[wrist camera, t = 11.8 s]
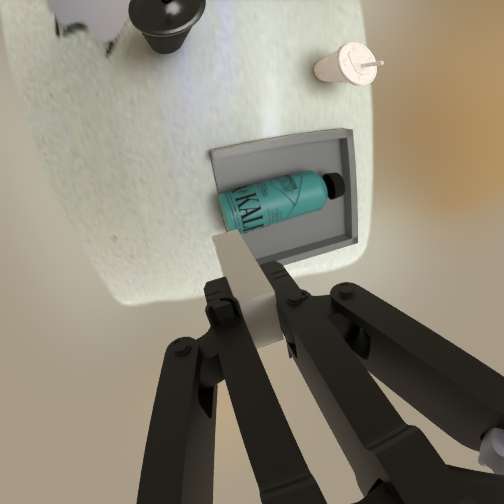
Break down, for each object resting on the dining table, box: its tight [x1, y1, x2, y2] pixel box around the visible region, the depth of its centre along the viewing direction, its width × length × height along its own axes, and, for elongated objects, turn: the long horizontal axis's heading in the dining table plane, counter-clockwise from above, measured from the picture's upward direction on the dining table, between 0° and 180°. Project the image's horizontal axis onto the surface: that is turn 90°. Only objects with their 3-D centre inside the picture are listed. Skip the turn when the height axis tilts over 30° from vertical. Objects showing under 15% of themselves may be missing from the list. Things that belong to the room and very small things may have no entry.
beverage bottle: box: [218, 170, 345, 234], centre depth 42 cm, size 6×7×20 cm
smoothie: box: [314, 42, 384, 86], centre depth 33 cm, size 6×6×14 cm
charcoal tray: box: [210, 128, 358, 265], centre depth 45 cm, size 20×22×3 cm
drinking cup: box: [128, 0, 206, 54], centre depth 22 cm, size 8×8×20 cm
